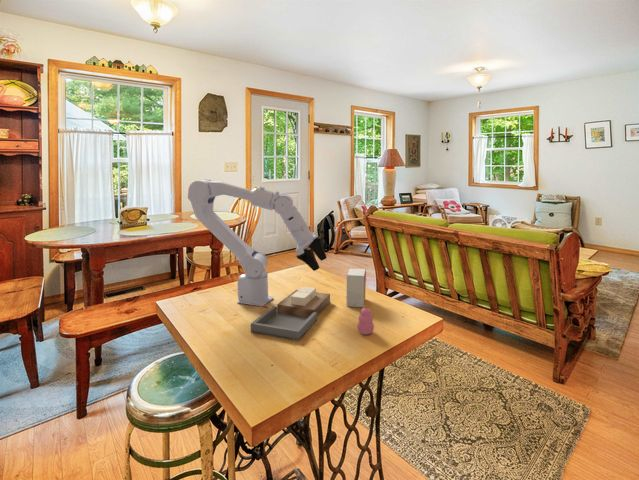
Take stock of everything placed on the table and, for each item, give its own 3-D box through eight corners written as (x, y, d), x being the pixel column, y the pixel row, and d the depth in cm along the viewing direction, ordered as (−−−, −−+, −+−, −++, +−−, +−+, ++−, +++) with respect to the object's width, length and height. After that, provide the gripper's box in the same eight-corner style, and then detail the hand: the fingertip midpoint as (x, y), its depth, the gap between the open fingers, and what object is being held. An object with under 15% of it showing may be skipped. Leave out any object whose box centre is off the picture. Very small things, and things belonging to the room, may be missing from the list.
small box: (363, 308, 115) (364, 276, 112) (346, 306, 116) (346, 275, 114) (365, 299, 122) (366, 268, 120) (349, 297, 123) (349, 267, 121)
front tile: (290, 304, 110) (290, 296, 110) (297, 298, 114) (296, 291, 114) (304, 306, 109) (304, 298, 108) (310, 300, 113) (310, 293, 112)
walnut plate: (277, 313, 110) (277, 304, 110) (296, 298, 123) (296, 289, 123) (314, 319, 106) (314, 309, 106) (330, 302, 119) (330, 294, 118)
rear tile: (297, 298, 114) (297, 291, 114) (303, 293, 119) (303, 286, 118) (310, 300, 113) (310, 292, 112) (316, 295, 117) (315, 288, 117)
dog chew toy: (358, 328, 101) (359, 303, 99) (375, 330, 99) (375, 305, 98) (355, 335, 97) (355, 309, 95) (372, 337, 95) (372, 311, 94)
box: (251, 332, 98) (250, 323, 98) (273, 313, 110) (273, 306, 110) (298, 340, 94) (298, 331, 93) (316, 320, 105) (316, 312, 105)
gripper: (300, 231, 107) (323, 269, 110) (315, 216, 120) (336, 250, 123) (282, 240, 111) (305, 277, 113) (299, 224, 123) (319, 258, 126)
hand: (320, 264), depth 118 cm, fingers open, 7 cm apart
